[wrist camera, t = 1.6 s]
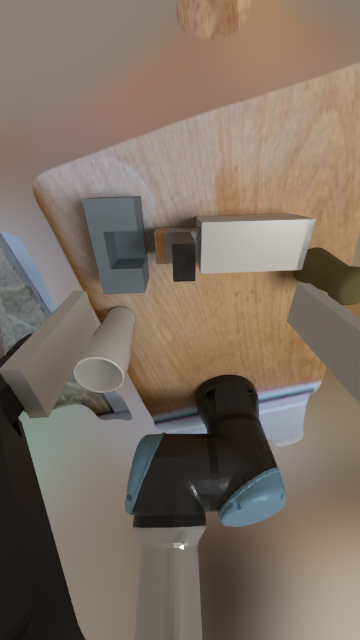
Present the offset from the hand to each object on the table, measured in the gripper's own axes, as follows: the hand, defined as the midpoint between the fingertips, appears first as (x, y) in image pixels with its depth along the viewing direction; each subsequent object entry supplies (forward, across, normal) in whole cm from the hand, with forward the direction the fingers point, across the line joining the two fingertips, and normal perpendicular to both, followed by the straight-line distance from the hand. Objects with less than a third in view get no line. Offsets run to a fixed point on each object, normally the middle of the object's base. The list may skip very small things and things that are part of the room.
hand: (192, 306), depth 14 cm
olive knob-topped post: (+23, -22, +5) cm, 33 cm away
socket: (+23, +8, 0) cm, 24 cm away
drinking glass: (+23, +12, +14) cm, 30 cm away
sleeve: (+23, -10, 0) cm, 25 cm away
